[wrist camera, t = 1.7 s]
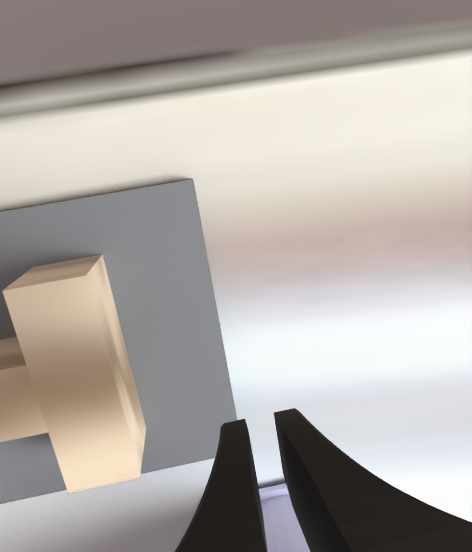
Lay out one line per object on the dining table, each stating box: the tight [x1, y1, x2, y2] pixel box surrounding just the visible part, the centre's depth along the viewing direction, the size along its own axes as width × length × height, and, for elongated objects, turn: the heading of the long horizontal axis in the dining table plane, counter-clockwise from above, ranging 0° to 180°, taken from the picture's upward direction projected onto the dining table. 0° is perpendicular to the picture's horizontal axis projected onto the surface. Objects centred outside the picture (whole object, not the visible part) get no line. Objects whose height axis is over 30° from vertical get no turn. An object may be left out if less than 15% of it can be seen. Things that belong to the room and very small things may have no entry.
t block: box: [0, 255, 146, 493], centre depth 19 cm, size 9×9×4 cm
